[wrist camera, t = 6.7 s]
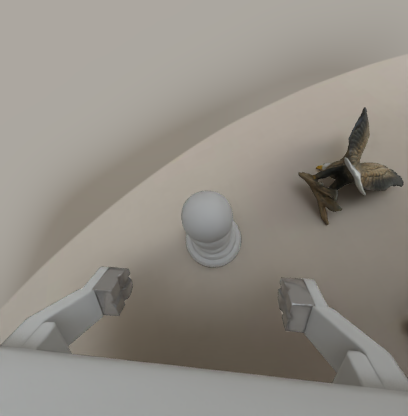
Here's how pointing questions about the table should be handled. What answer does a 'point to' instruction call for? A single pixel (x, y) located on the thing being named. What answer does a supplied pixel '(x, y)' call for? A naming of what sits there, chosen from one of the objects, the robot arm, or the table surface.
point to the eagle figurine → (350, 172)
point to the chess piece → (210, 229)
